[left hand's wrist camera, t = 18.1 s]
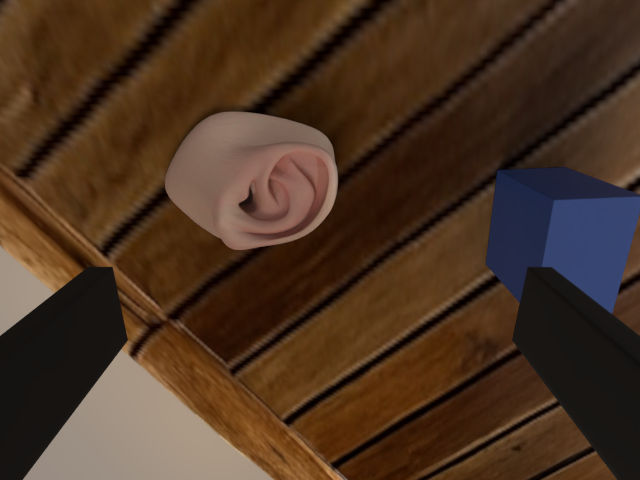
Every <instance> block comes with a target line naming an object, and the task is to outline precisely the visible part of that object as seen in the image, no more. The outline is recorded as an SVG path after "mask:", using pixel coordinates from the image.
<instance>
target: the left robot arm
mask: <svg viewBox="0 0 640 480" xmlns="http://www.w3.org/2000/svg"><path fill="white" fill-rule="evenodd" d="M127 341H128V339H127V334H126V329H125V325H124V320H123V315H122V310H121V305H120V301H119V296H118V291H117V286H116V282H115V277H114V272H113V267H88V268H86V269H85V270H84V271H82V272H81V273H80V274H79V275H77V276H76V277H75V278H74V279H72V280H71V281H70V282H68V283H67V284H66V285H65V286H63V287H62V288H61V289H60V290H58V291H57V292H56V293H54V294H53V295H52V296H51V297H49V298H48V299H47V300H45V301H44V302H43V303H42V304H40V305H39V306H38V307H37V308H35V309H34V310H33V311H32V312H30V313H29V314H28V315H26V316H25V317H24V318H23V319H21V320H20V321H19V322H17V323H16V324H15V325H14V326H12V327H11V328H10V329H9V330H7V331H6V332H5V333H3V334H2V335H1V336H0V480H23V479H24V477H25V476H26V475H27V473H28V472H29V471H30V469H31V468H32V467H33V465H34V464H35V463H36V461H37V460H38V459H39V457H40V456H41V455H42V453H43V452H44V451H45V449H46V448H47V447H48V445H49V444H50V443H51V441H52V440H53V439H54V437H55V436H56V435H57V433H58V432H59V431H60V429H61V428H62V427H63V425H64V424H65V423H66V422H67V420H68V419H69V418H70V416H71V415H72V414H73V412H74V411H75V410H76V408H77V407H78V406H79V404H80V403H81V402H82V400H83V399H84V398H85V396H86V395H87V394H88V392H89V391H90V390H91V388H92V387H93V386H94V384H95V383H96V382H97V380H98V379H99V378H100V376H101V375H102V374H103V372H104V371H105V370H106V368H107V367H108V366H109V364H110V363H111V362H112V361H113V359H114V358H115V356H116V355H117V354H118V352H119V351H120V350H121V349H122V347H123V346H124V345H125V343H126V342H127ZM512 341H513V342H514V343H515V345H516V346H517V347H518V349H519V350H520V351H521V353H522V354H523V355H524V357H525V358H526V359H527V361H528V362H529V363H530V364H531V366H532V367H533V368H534V370H535V371H536V372H537V374H538V375H539V376H540V378H541V379H542V380H543V382H544V383H545V384H546V386H547V387H548V388H549V390H550V391H551V392H552V394H553V395H554V396H555V398H556V399H557V400H558V402H559V403H560V404H561V406H562V407H563V408H564V410H565V411H566V412H567V414H568V415H569V416H570V418H571V419H572V420H573V422H574V423H575V424H576V425H577V427H578V428H579V429H580V431H581V432H582V433H583V435H584V436H585V437H586V439H587V440H588V441H589V443H590V444H591V445H592V447H593V448H594V449H595V451H596V452H597V453H598V455H599V456H600V457H601V459H602V460H603V461H604V463H605V464H606V465H607V467H608V468H609V469H610V471H611V472H612V473H613V475H614V476H615V477H616V479H617V480H640V336H639V335H638V334H637V333H635V332H634V331H633V330H632V329H630V328H629V327H628V326H626V325H625V324H624V323H623V322H621V321H620V320H619V319H617V318H616V317H615V316H614V315H612V314H611V313H610V312H609V311H607V310H606V309H605V308H603V307H602V306H601V305H600V304H598V303H597V302H596V301H595V300H593V299H592V298H591V297H589V296H588V295H587V294H586V293H584V292H583V291H582V290H580V289H579V288H578V287H577V286H575V285H574V284H573V283H572V282H570V281H569V280H568V279H566V278H565V277H564V276H563V275H561V274H560V273H559V272H558V271H556V270H555V269H554V268H552V267H527V272H526V277H525V282H524V286H523V291H522V296H521V301H520V305H519V310H518V315H517V320H516V325H515V329H514V334H513V339H512Z"/></svg>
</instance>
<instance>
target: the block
mask: <svg viewBox="0 0 640 480" xmlns="http://www.w3.org/2000/svg"><path fill="white" fill-rule="evenodd" d="M639 213H640V195H639V194H637V193H634V192H631V191H628V190H626V189H623V188H620V187H618V186H615V185H612V184H609V183H607V182H604V181H601V180H599V179H596V178H593V177H590V176H588V175H585V174H582V173H580V172H577V171H574V170H571V169H569V168H566V167H555V168H533V169H511V170H497V178H496V186H495V194H494V202H493V210H492V218H491V226H490V235H489V243H488V251H487V259H486V265H487V266H488V267H489V268H490V269H491V271H492V272H493V273H494V274H495V275H496V276H497V277H498V279H499V280H500V281H501V282H502V283H503V284H504V285H505V287H506V288H507V289H508V290H509V291H510V292H511V293H512V294H513V296H514V297H515V298H516V299H517V300H518V301H519V302H520V301H521V296H522V291H523V286H524V282H525V277H526V272H527V267H552V268H554V269H555V270H556V271H558V272H559V273H560V274H561V275H563V276H564V277H565V278H566V279H568V280H569V281H570V282H572V283H573V284H574V285H575V286H577V287H578V288H579V289H580V290H582V291H583V292H584V293H586V294H587V295H588V296H589V297H591V298H592V299H593V300H595V301H596V302H597V303H598V304H600V305H601V306H602V307H603V308H605V309H606V310H607V311H609V312H610V313H611V314H612V312H613V309H614V305H615V301H616V298H617V294H618V290H619V287H620V283H621V279H622V276H623V272H624V268H625V265H626V261H627V257H628V254H629V250H630V246H631V242H632V239H633V235H634V231H635V228H636V224H637V220H638V217H639Z"/></svg>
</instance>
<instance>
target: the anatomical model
mask: <svg viewBox="0 0 640 480" xmlns="http://www.w3.org/2000/svg"><path fill="white" fill-rule="evenodd" d="M337 186H338V173H337V167H336V163H335V157H334V150H333V147H332V144H331V142H330V141H329V139H328V138H327V137H326V136H325V135H324V134H323V133H322V132H320V131H318V130H317V129H314V128H312V127H309V126H307V125H304V124H301V123H298V122H294V121H291V120H287V119H283V118H278V117H274V116H268V115H263V114H257V113H249V112H221V113H217V114H214V115H212V116H209V117H208V118H206V119H204V120H202V121H201V122H200V123H199V124H197V125H196V126H195V127H194V129H193V130H192V131H191V132H190V133H189V134H188V135H187V137H186V138H185V139H184V140H183V142H182V144H181V145H180V147H179V148H178V150H177V152H176V153H175V155H174V157H173V159H172V161H171V163H170V166H169V168H168V171H167V174H166V178H165V188H166V191H167V194H168V195H169V197H170V198H171V200H172V201H173V202H174V203H175V204H176V205H177V206H178V207H179V208H180V209H181V210H182V211H183V212H184V213H185V214H186V215H188V216H189V217H190V218H191V219H192V220H193V221H194V222H196V223H197V224H198V225H200V226H201V227H202V228H204V229H205V230H207V231H208V232H210V233H211V234H213V235H215V236H217V237H219V238H221V239H222V240H223V242H224V243H225V244H226V245H227V246H228V247H230V248H232V249H235V250H244V249H251V248H256V247H262V246H268V245H275V244H280V243H285V242H289V241H293V240H296V239H299V238H301V237H303V236H305V235H307V234H308V233H310V232H311V231H313V230H314V229H315V228H316V227H317V226H318V225H319V224H320V223H321V222H322V221H323V220H324V219H325V218H326V216H327V215H328V214H329V212H330V211H331V209H332V207H333V204H334V201H335V198H336V194H337Z"/></svg>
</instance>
